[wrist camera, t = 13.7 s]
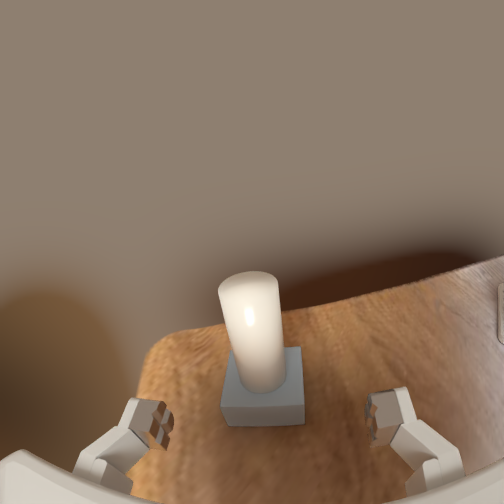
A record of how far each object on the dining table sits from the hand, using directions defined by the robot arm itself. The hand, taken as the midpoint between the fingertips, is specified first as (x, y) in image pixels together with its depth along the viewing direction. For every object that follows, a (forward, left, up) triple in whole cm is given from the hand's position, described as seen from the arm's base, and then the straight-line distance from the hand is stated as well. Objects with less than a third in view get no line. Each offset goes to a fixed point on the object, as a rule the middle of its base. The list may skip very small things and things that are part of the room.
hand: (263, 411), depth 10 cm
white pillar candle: (-11, -8, -14) cm, 19 cm away
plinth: (-11, -8, -18) cm, 22 cm away
